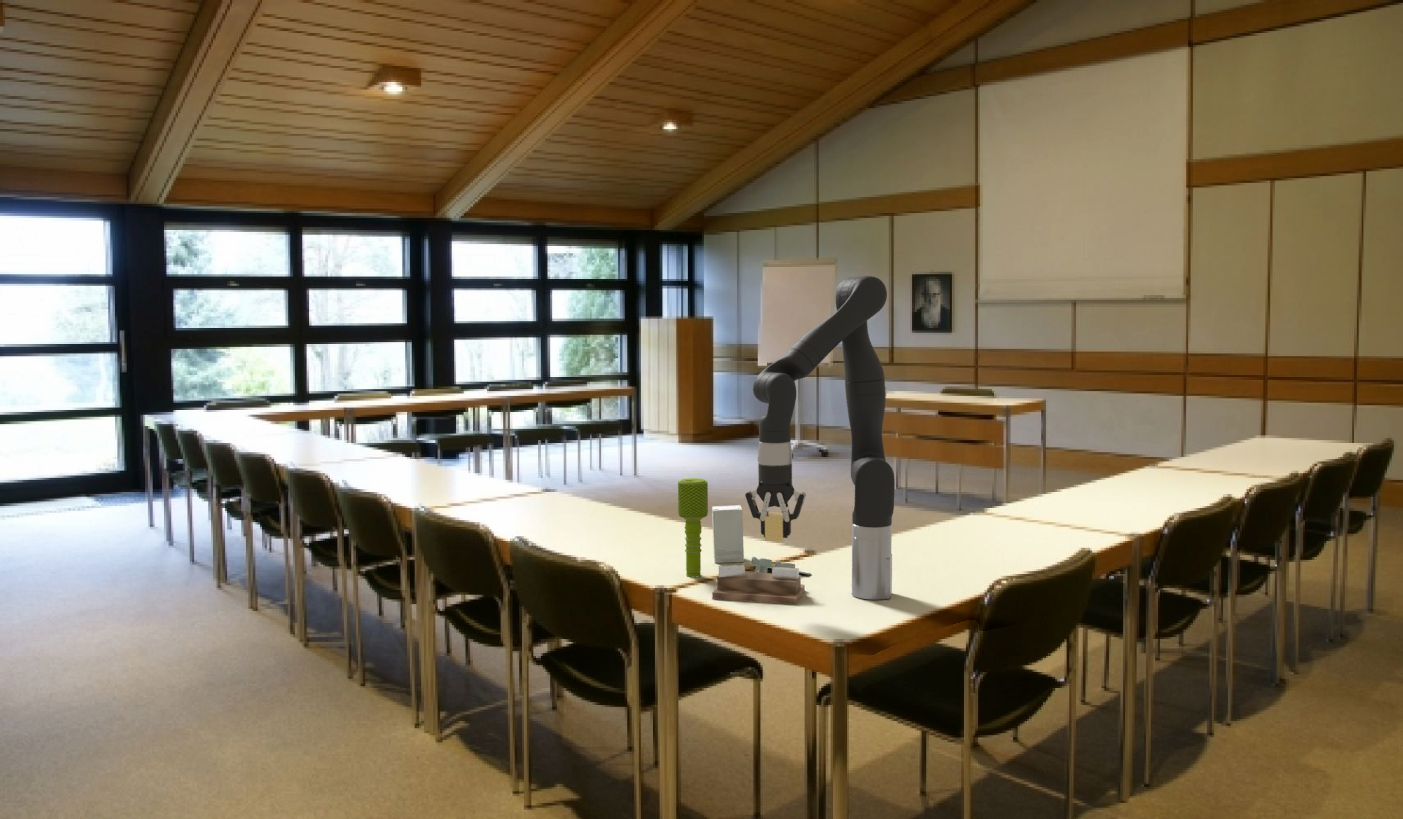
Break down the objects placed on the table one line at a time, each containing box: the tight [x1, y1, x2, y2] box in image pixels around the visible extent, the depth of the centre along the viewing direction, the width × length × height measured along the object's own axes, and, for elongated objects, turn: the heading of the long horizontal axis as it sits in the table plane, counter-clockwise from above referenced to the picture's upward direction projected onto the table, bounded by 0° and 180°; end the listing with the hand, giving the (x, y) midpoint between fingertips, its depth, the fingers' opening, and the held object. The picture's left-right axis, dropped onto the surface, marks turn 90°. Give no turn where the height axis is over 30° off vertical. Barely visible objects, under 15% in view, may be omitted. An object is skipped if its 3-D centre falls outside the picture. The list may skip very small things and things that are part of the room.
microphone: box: [677, 477, 709, 578], centre depth 259 cm, size 8×8×25 cm
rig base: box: [711, 571, 806, 605], centre depth 241 cm, size 20×12×4 cm, turn 75°
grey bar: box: [718, 564, 800, 580], centre depth 240 cm, size 19×4×2 cm, turn 75°
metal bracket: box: [743, 556, 812, 576], centre depth 260 cm, size 14×6×15 cm
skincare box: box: [711, 504, 745, 564], centre depth 275 cm, size 8×6×15 cm
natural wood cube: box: [764, 511, 786, 542], centre depth 228 cm, size 5×4×6 cm
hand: (775, 536), depth 228 cm, fingers closed on natural wood cube, 4 cm apart
